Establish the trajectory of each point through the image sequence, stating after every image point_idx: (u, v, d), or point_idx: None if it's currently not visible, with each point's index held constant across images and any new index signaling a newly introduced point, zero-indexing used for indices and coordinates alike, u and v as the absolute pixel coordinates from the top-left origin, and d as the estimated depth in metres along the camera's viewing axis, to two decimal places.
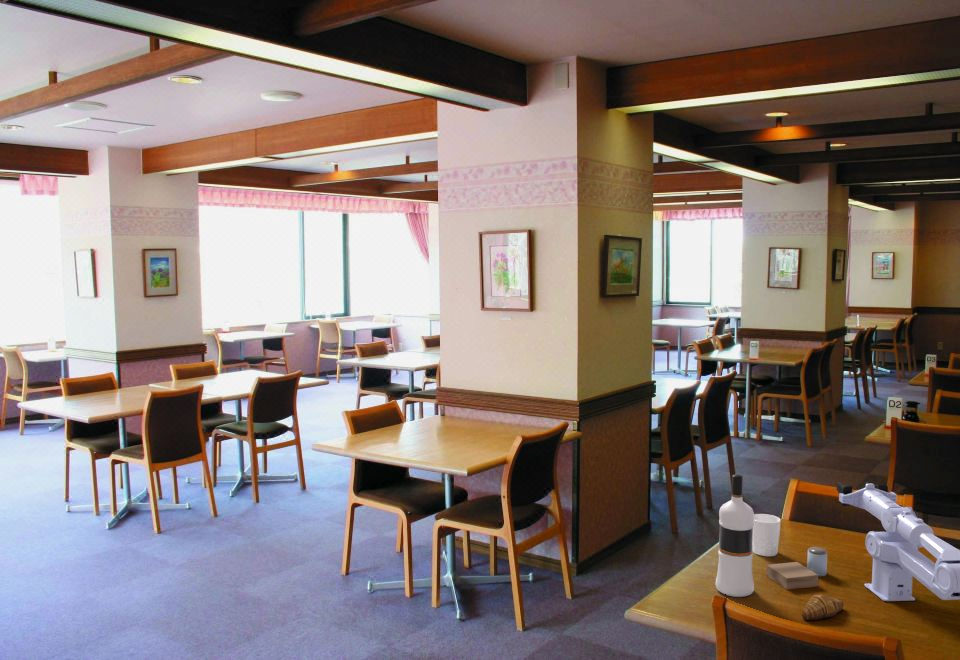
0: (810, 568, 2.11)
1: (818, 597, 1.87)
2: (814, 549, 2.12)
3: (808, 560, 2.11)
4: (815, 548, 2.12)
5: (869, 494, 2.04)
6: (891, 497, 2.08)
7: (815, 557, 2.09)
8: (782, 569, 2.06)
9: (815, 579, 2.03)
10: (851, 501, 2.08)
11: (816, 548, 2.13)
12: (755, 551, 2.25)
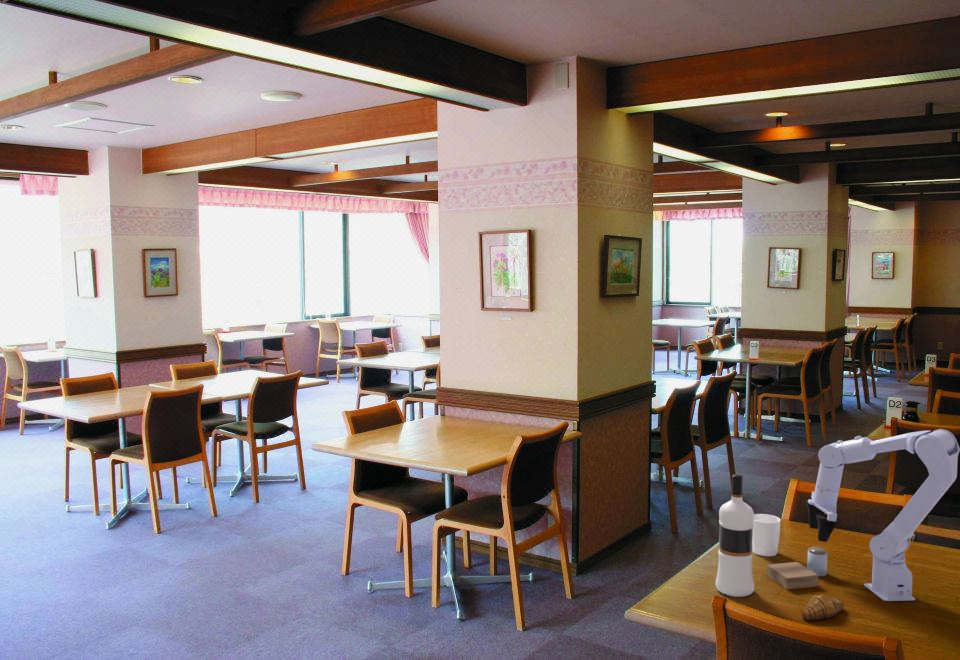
0: (810, 568, 2.11)
1: (818, 598, 1.87)
2: (814, 549, 2.12)
3: (808, 560, 2.11)
4: (815, 548, 2.12)
5: (819, 494, 2.08)
6: None
7: (816, 557, 2.09)
8: (782, 569, 2.06)
9: (815, 579, 2.03)
10: (832, 511, 2.06)
11: (816, 548, 2.13)
12: (755, 551, 2.25)
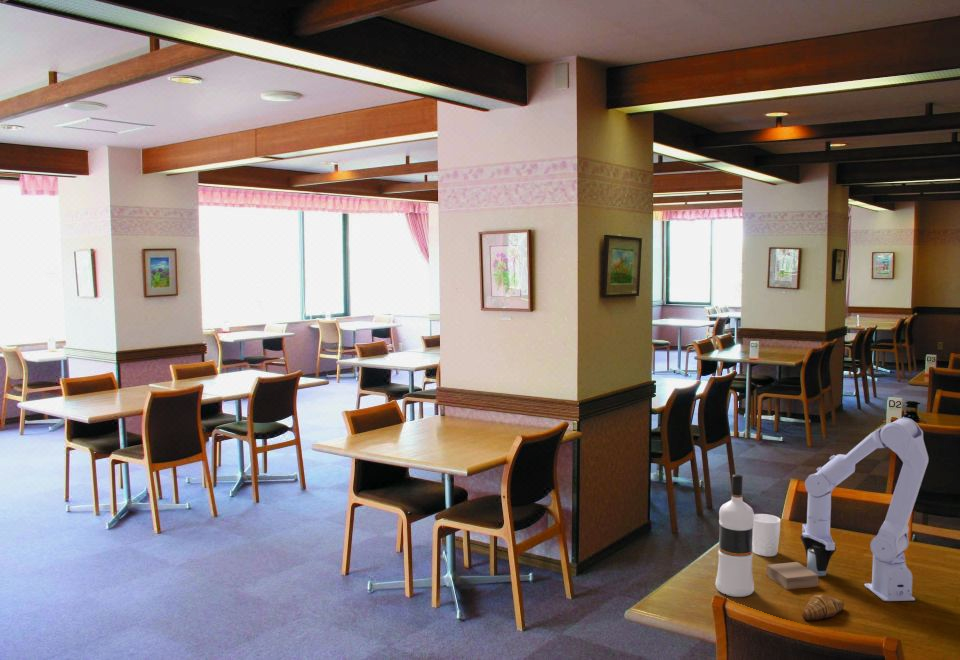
0: (810, 568, 2.11)
1: (818, 597, 1.87)
2: None
3: (808, 560, 2.11)
4: None
5: (812, 525, 2.09)
6: (807, 526, 2.17)
7: (815, 557, 2.09)
8: (782, 569, 2.06)
9: (815, 579, 2.03)
10: (829, 540, 2.06)
11: None
12: (755, 551, 2.25)
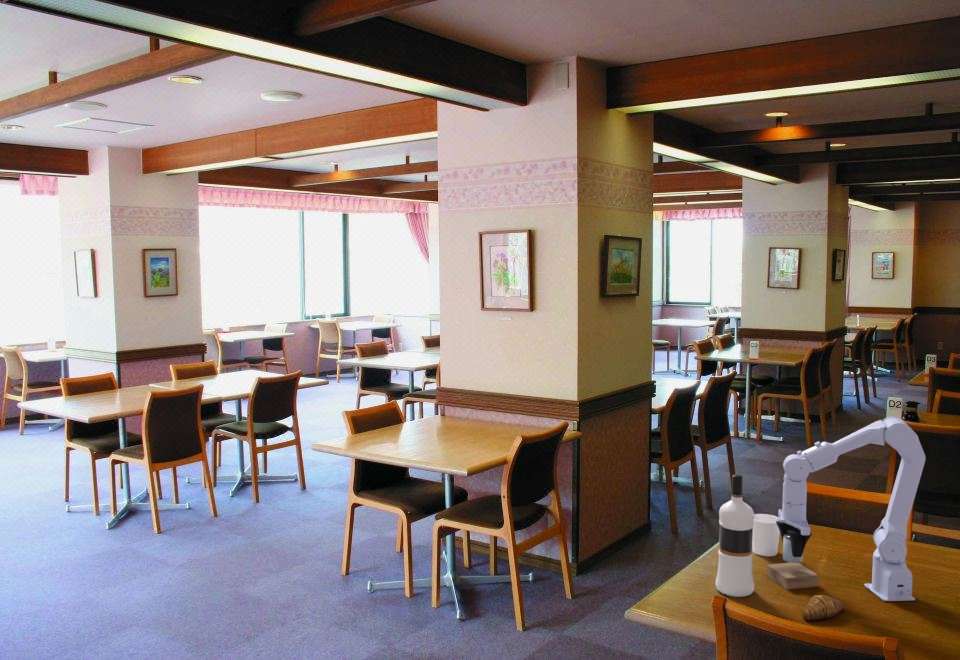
0: (786, 555, 2.05)
1: (819, 598, 1.87)
2: None
3: (784, 547, 2.05)
4: None
5: (788, 510, 2.03)
6: None
7: None
8: (782, 569, 2.06)
9: (815, 579, 2.03)
10: (804, 525, 2.00)
11: None
12: (755, 551, 2.25)
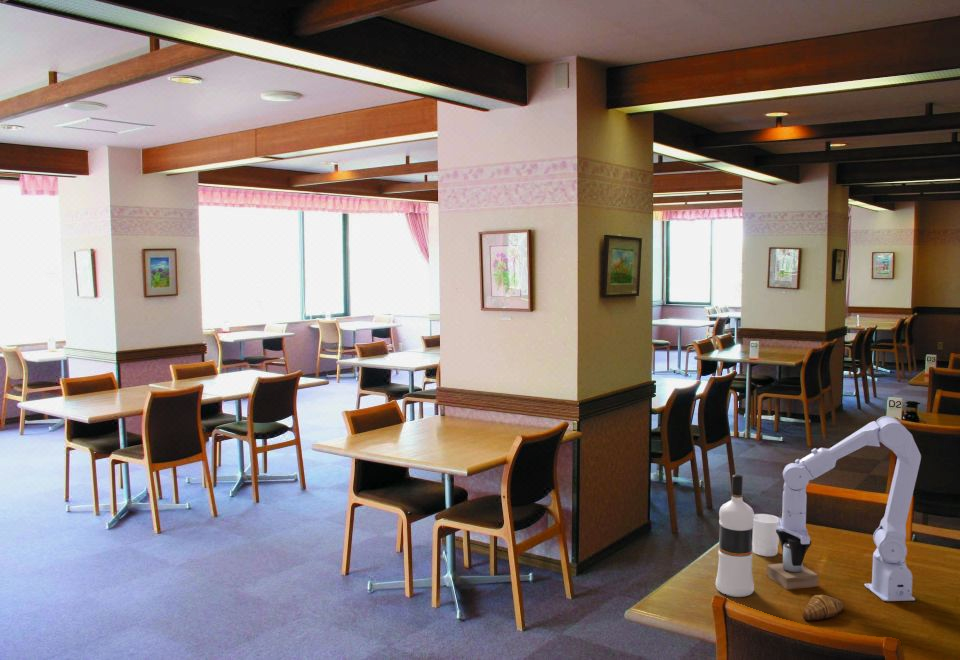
0: (786, 563, 2.05)
1: (819, 598, 1.87)
2: None
3: (784, 555, 2.06)
4: None
5: (787, 519, 2.03)
6: None
7: None
8: (782, 569, 2.06)
9: (815, 579, 2.03)
10: (804, 534, 2.01)
11: None
12: (755, 551, 2.25)
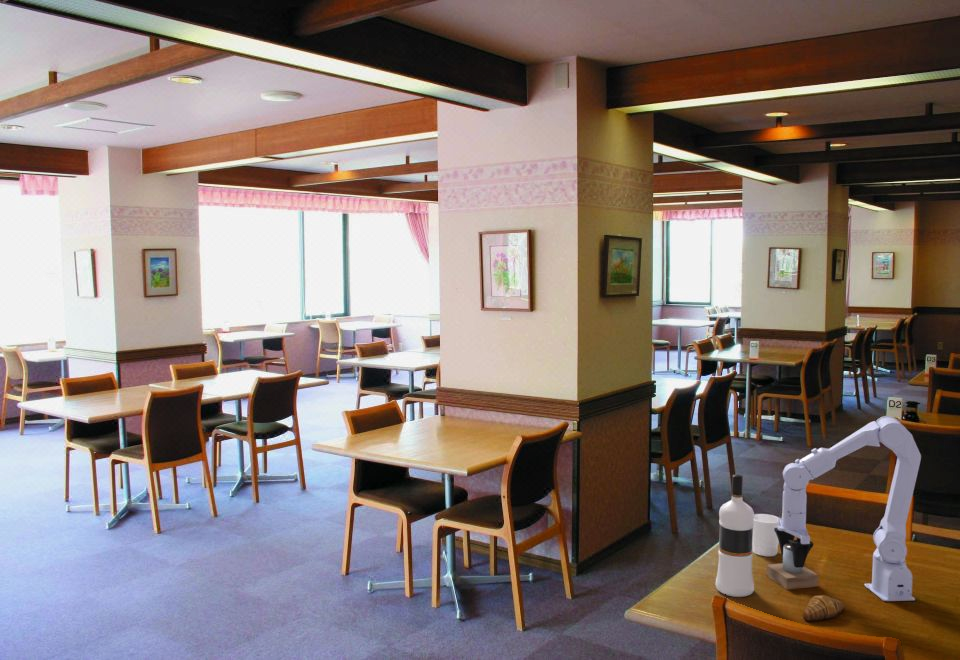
0: (786, 565, 2.05)
1: (819, 598, 1.87)
2: (790, 545, 2.06)
3: (784, 557, 2.06)
4: None
5: (787, 519, 2.03)
6: None
7: (791, 553, 2.04)
8: (782, 569, 2.06)
9: (815, 579, 2.03)
10: (804, 534, 2.01)
11: None
12: (755, 551, 2.25)
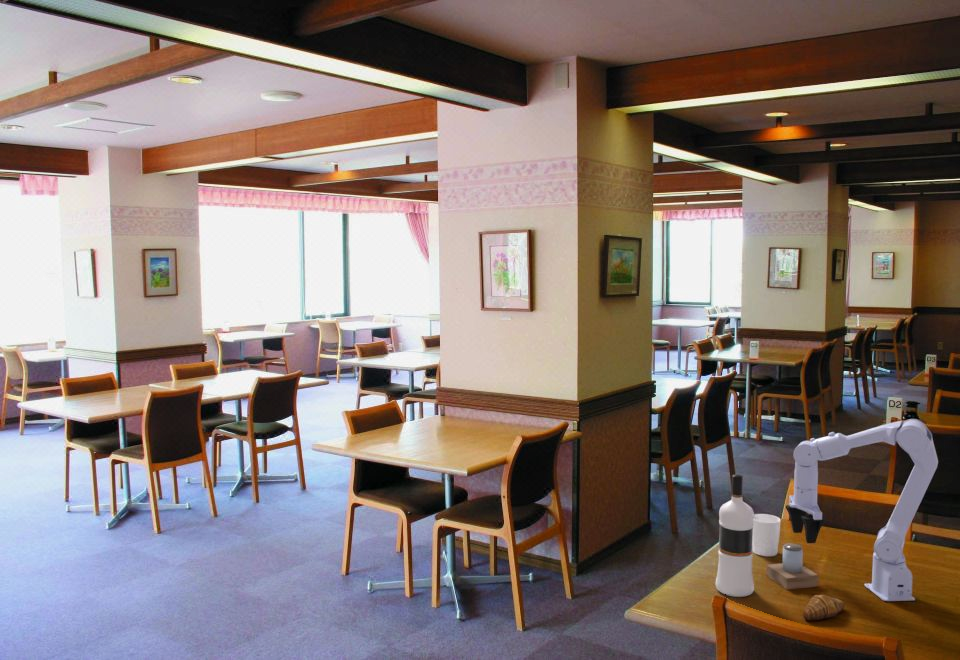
0: (785, 565, 2.05)
1: (819, 598, 1.87)
2: (789, 545, 2.06)
3: (783, 557, 2.06)
4: (790, 544, 2.07)
5: (799, 495, 2.06)
6: (794, 497, 2.14)
7: (791, 553, 2.04)
8: (782, 569, 2.06)
9: (815, 579, 2.03)
10: (816, 510, 2.04)
11: (791, 544, 2.07)
12: (755, 551, 2.25)
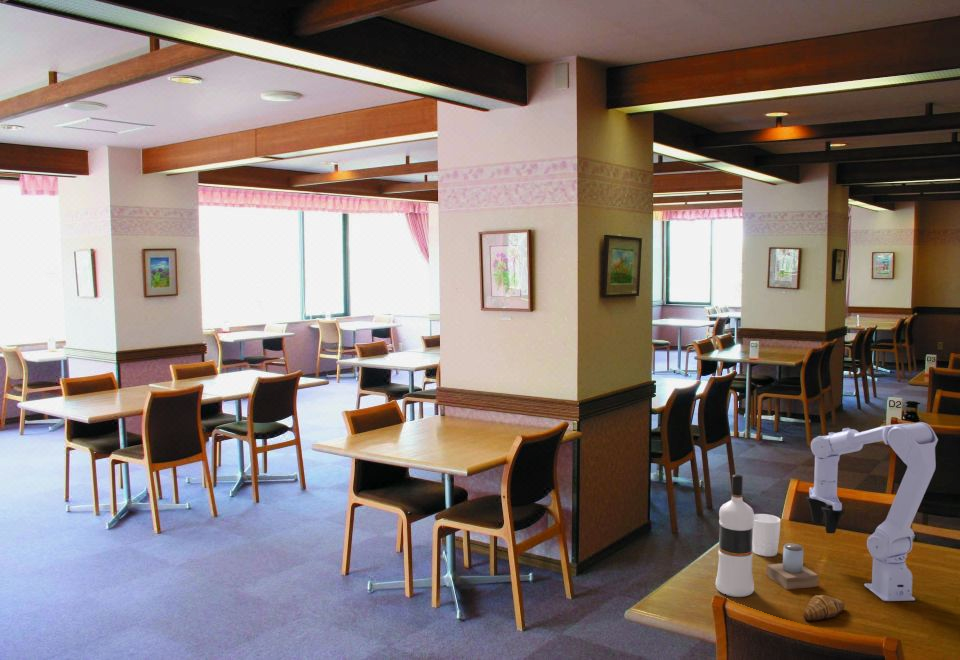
0: (785, 564, 2.05)
1: (819, 598, 1.87)
2: (790, 545, 2.06)
3: (784, 556, 2.06)
4: (791, 544, 2.07)
5: (820, 487, 2.13)
6: (814, 489, 2.21)
7: (791, 553, 2.04)
8: (782, 569, 2.06)
9: (815, 579, 2.03)
10: (836, 501, 2.11)
11: (792, 544, 2.07)
12: (755, 551, 2.25)
